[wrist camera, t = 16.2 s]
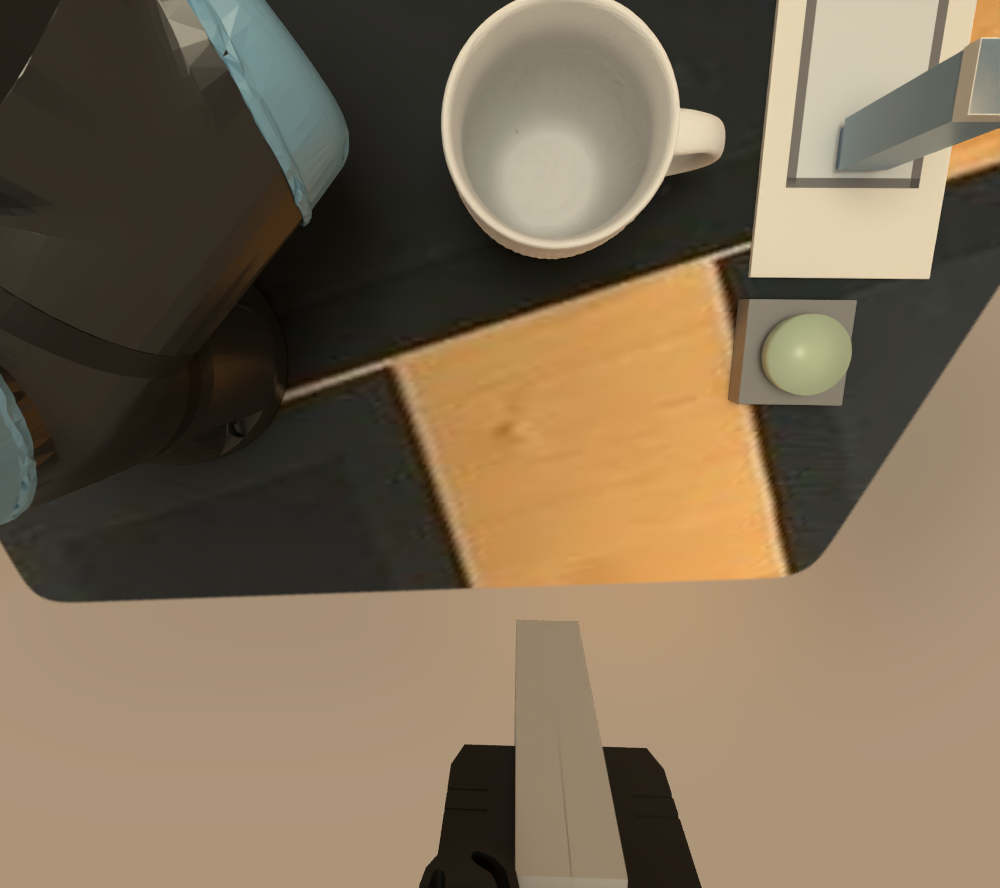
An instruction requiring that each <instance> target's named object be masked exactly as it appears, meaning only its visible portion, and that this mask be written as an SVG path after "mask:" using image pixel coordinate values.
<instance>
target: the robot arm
mask: <svg viewBox="0 0 1000 888" xmlns="http://www.w3.org/2000/svg"><path fill="white" fill-rule="evenodd" d="M348 152H349V133H348V129H347V126H346V122H345V119H344V116H343V114H342V112H341V110H340V108H339V106H338V104H337V102H336V100H335V98H334V97H333V95H332V94H331V92H330V90H329V89H328V87H327V86H326V84H325V83H324V81H323V80H322V78H321V77H320V75H319V74H318V72H317V71H316V69H315V68H314V66H313V65H312V63H311V62H310V61H309V59H308V58H307V56H306V55H305V53H304V52H303V51H302V49H301V48H300V47H299V45H298V44H297V42H296V41H295V40H294V38H293V37H292V36H291V34H290V33H289V31H288V30H287V29H286V27H285V26H284V25H283V23H282V22H281V21H280V19H279V18H278V17H277V15H276V14H275V13H274V11H273V10H272V9H271V8H270V6H269V5H268V4H267V2H266V1H265V0H0V524H4V523H7V522H10V521H11V520H14V519H16V518H17V517H18V516H19V515H20V514H21V513H23V512H26V511H28V510H31V509H33V508H35V507H38V506H40V505H42V504H45V503H47V502H50V501H52V500H54V499H57V498H59V497H61V496H64V495H66V494H69V493H71V492H73V491H76V490H78V489H80V488H83V487H85V486H87V485H90V484H92V483H95V482H97V481H99V480H102V479H104V478H106V477H109V476H111V475H114V474H116V473H118V472H121V471H123V470H125V469H128V468H130V467H132V466H135V465H137V464H140V463H142V462H149V463H162V464H177V465H186V464H196V463H202V462H207V461H211V460H214V459H217V458H220V457H222V456H225V455H227V454H229V453H231V452H233V451H235V450H237V449H239V448H241V447H243V446H244V445H246V444H248V443H249V442H251V441H252V440H253V439H255V438H256V437H257V436H258V435H259V434H260V433H261V432H262V431H263V430H264V429H265V428H266V427H267V426H268V424H269V423H270V422H271V420H272V419H273V417H274V416H275V414H276V412H277V410H278V408H279V406H280V404H281V401H282V398H283V395H284V391H285V387H286V382H287V372H288V361H287V351H286V345H285V341H284V337H283V333H282V330H281V327H280V325H279V323H278V320H277V318H276V316H275V314H274V312H273V310H272V309H271V307H270V305H269V304H268V302H267V301H266V299H265V298H264V297H263V295H262V294H261V293H260V291H259V290H258V289H257V288H256V287H255V286H254V285H253V282H254V281H255V280H256V279H257V277H258V276H259V275H260V274H261V272H262V271H263V270H264V269H265V267H266V266H267V265H268V264H269V262H270V261H271V260H272V259H273V257H274V256H275V255H276V254H277V252H278V251H279V250H280V249H281V247H282V246H283V245H284V244H285V242H286V241H287V240H288V239H289V237H290V236H291V235H292V234H293V232H294V231H295V230H296V229H297V228H298V226H299V225H302V226H304V227H305V226H306V225H307V224H308V223H309V222H310V220H311V218H312V209H313V208H314V206H315V205H316V204H317V202H318V201H319V199H320V198H321V197H322V195H323V194H324V193H325V191H326V190H327V188H328V187H329V186H330V184H331V183H332V182H333V180H334V179H335V177H336V176H337V175H338V173H339V172H340V171H341V169H342V168H343V166H344V164H345V161H346V159H347V156H348ZM516 621H517V622H516V672H515V675H516V676H515V740H514V742H515V744H514V746H497V745H466V744H465V745H464V746H463V748H462V749H461V751H460V752H459V753H458V755H457V756H456V758H455V759H454V761H453V762H452V764H451V769H450V775H449V782H448V792H447V796H446V802H445V812H444V816H443V823H442V830H441V837H440V844H439V850H438V855H437V856H436V857H435V858H434V859H433V860H432V861H431V863H430V864H429V865H428V866H427V867H426V869H425V872H424V874H423V877H422V880H421V882H420V885H419V888H702V887H701V884H700V881H699V878H698V875H697V872H696V869H695V866H694V862H693V859H692V856H691V853H690V850H689V847H688V843H687V840H686V838H685V834H684V831H683V828H682V825H681V822H680V819H679V818H678V812H677V809H676V806H675V803H674V799H673V798H672V794H671V790H670V787H669V784H668V781H667V777H666V775H665V771H664V769H663V768H662V766H661V765H660V764H659V763H658V762H657V760H656V759H655V758H654V757H653V755H652V754H651V753H650V752H649V751H648V749H647V748H624V747H602V743H601V738H600V733H599V727H598V722H597V718H596V712H595V707H594V702H593V696H592V692H591V686H590V681H589V676H588V671H587V666H586V661H585V656H584V650H583V645H582V640H581V635H580V630H579V624H578V622H577V621H538V620H516Z"/></svg>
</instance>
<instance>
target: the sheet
mask: <svg viewBox="0 0 1000 888" xmlns="http://www.w3.org/2000/svg"><path fill="white" fill-rule="evenodd" d="M976 3H977V0H777V2H776V11H775V21H774V31H773V40H772V50H771V60H770V69H769V79H768V88H767V98H766V108H765V117H764V127H763V137H762V146H761V156H760V166H759V175H758V185H757V195H756V204H755V214H754V224H753V233H752V243H751V253H750V262H749V272H748V277H754V278H856V279H929V277H930V271H931V265H932V260H933V254H934V248H935V242H936V236H937V231H938V225H939V219H940V213H941V207H942V201H943V196H944V190H945V184H946V178H947V172H948V166H949V161H950V155H951V149H952V146H950V147H947V148H945V149H942V150H939V151H937V152H934V153H931V154H929V155H926V156H923V157H921V158H918V159H915V160H913V161H910V162H908V163H905V164H902V165H900V166H897V167H894V168H892V169H889V170H839V169H836V162H837V154H838V147H839V139H840V131H841V128H843V127H844V125H845V118H847V117H849V116H851V115H852V114H854V113H856V112H857V111H859V110H861V109H863V108H864V107H866V106H868V105H869V104H871V103H873V102H875V101H876V100H878V99H880V98H881V97H883V96H885V95H887V94H888V93H890V92H892V91H893V90H895V89H897V88H899V87H900V86H902V85H904V84H905V83H907V82H909V81H911V80H912V79H914V78H916V77H917V76H919V75H921V74H923V73H924V72H926V71H928V70H930V69H931V68H933V67H935V66H936V65H938V64H940V63H942V62H943V61H945V60H947V59H948V58H950V57H952V56H954V55H955V54H957V53H959V52H960V51H962V50H964V47H966V46H968V45H969V44H970V38H971V32H972V27H973V21H974V15H975V9H976Z"/></svg>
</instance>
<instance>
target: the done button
mask: <svg viewBox="0 0 1000 888" xmlns="http://www.w3.org/2000/svg"><path fill="white" fill-rule="evenodd" d="M851 355H852V345H851V340H850V337H849V335H848V333H847V331H846V329H845V328H844V327H843V326H842V325H841V324H840V323H839V322H838V321H837V320H835V319H833V318H831V317H829V316H826V315H821V314H799V315H795V316H792V317H789V318H787V319H785V320H783V321H782V322H780V323H779V324H778V325H777V326H776V327H775V328H774V329H773V330H772V331H771V332H770V333H769V335H768V337H767V338H766V341H765V343H764V346H763V349H762V358H761V359H762V366H763V370H764V373H765V375H766V376H767V378H768V379H769V381H770V382H771V383H772V384H773V385H775V386H776V387H777V388H779V389H781V390H783V391H786V392H789V393H792V394H796V395H802V396H809V395H816V394H819V393H822V392H824V391H826V390H828V389H830V388H831V387H833V386H834V385H835V384H836V383H837V382H838V381H839V380H840V379H841V378H842V377H843V375H844V374H845V372H846V371H847V369H848V367H849V364H850V360H851Z"/></svg>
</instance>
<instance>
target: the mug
mask: <svg viewBox="0 0 1000 888" xmlns="http://www.w3.org/2000/svg"><path fill="white" fill-rule="evenodd" d="M441 132H442V143H443V150H444V155H445V159H446V163H447V166H448V169H449V172H450V175H451V177H452V179H453V181H454V184H455V186H456V188H457V191H458V193H459V196H460V198H461V199H462V201H463V203H464V204H465V207H466V208H467V209H468V211H469V213H470V214H471V215H472V217H473V218H474V220H475V221H476V223H478V225H479V226H480V227H481V228H482V229H483V231H484V232H486V233H487V234H488V235H489V236H490V237H491V238H492V239H494V240H496V241H497V243H499V244H501V245H503V246H504V247H506V248H508V249H512V250H513V251H514V252H516V253H520V254H522V255H525V256H530V257H536V258H539V259H543V258H546V259H558V258H567V257H572V256H575V255H577V254H582V253H584V252H586V251H589V250H592V249H593V248H596V247H597V246H599V245H602V244H603V243H604V242H606V241H608V240H609V239H610V238H613V237H614V236H615V235H617V234H618V233H619V232H620V231H622V230H623V229H624V228H625V226H626V225H628V224H629V223H630V222H632V221H633V220H634V219H635V217H636V216H637V215H638V214H639V213H640V212H641V211H642V210H643V209H644V208H645V206H646V205H647V204H648V203H649V202H650V200H651V199H652V197H653V196H654V195H655V193H656V192H657V190H658V188H659V187H660V185H661V183H662V182H663V180H664V177H665V176H670V175H674V174H679V173H683V172H688V171H691V170H695V169H699V168H702V167H704V166H707V165H709V164H712V163H714V162H715V161H717V160H718V159H719V158H720V156H721V155H722V152H723V150H724V145H725V129H724V125H723V123H722V121H721V120H720V119H719V118H718V117H716V116H714V115H711V114H708V113H705V112H701V111H696V110H691V109H680V104H679V94H678V87H677V83H676V80H675V76H674V72H673V69H672V66H671V64H670V61H669V59H668V57H667V54H666V52H665V50H664V49H663V47H662V45H661V44H660V42H659V40H658V39H657V38H656V36H655V35H654V34H653V32H652V31H651V30H650V29H649V28H648V26H647V25H646V24H645V23H644V22H643V21H642V20H641V19H640V18H639V17H638V16H636V15H635V14H634V13H633V12H632V11H630V10H629V9H628V8H626V7H625V6H623V5H621V4H619V3H618V2H616V1H614V0H516V1H513V2H511V3H509V4H508V5H506V6H504V7H503V8H501V9H500V10H498V11H497V12H495V13H494V14H493V15H491V16H490V17H489V18H488V19H487V20H486V21H485V22H483V23H482V24H481V25H480V26H479V27H478V28H477V29H476V31H475V32H474V33H473V34H472V35H471V36H470V38H469V39H468V41H467V42H466V44H465V45H464V47H463V48H462V50H461V51H460V53H459V55H458V57H457V59H456V61H455V63H454V65H453V68H452V70H451V73H450V75H449V78H448V81H447V84H446V88H445V93H444V98H443V104H442V113H441Z"/></svg>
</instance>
